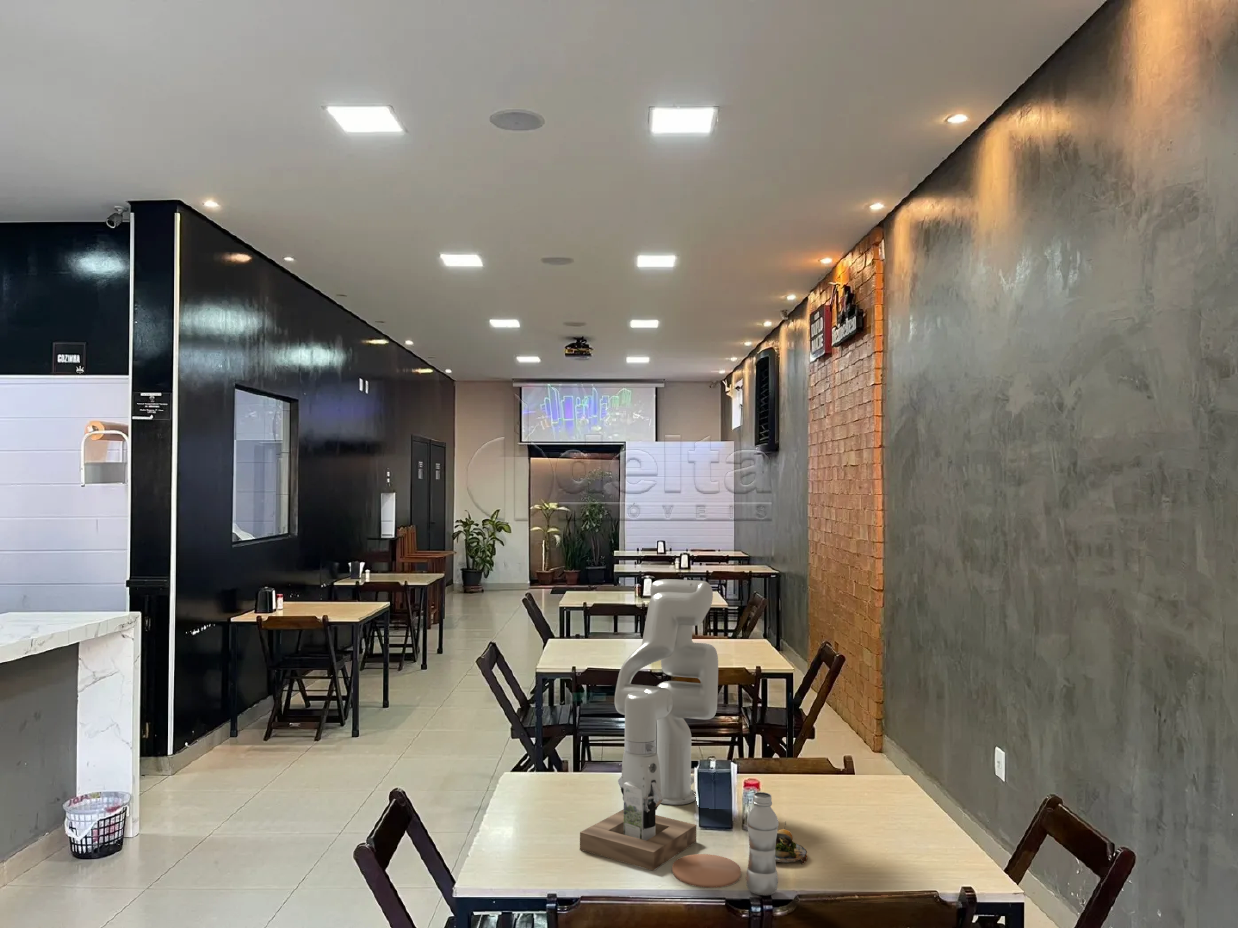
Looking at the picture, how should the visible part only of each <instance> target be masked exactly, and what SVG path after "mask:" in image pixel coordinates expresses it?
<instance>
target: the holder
mask: <svg viewBox="0 0 1238 928" xmlns="http://www.w3.org/2000/svg"><path fill="white" fill-rule="evenodd" d="M655 832H656V835H655V836H653V837H652V838H650V839H648V840H647V841H646V840H642V839H638V838H634V837H631V836H627V835H624V808H622V810H620V811H618V812H616V813H614V814H612V815H610V816H608V817H607V818H604V819H603V820H600V821H599V822H597V823H595V824H593V825H590V827H587V828H585V829H583V830H582V831H580V833H579V850H580V851H581V852H582V851H583V852H587V853H588V854H589V853H590V854H593V855H596V856H600V857H604V858H608V859H611V860H614V861H618V862H621V863H625V864H627V865H628V864H629V865H632V866H635V867H638V868H642V869H645V870H649V871H652V872H653V871H655V870H657V869H658V868H660V867H661V866H662V865H664V864H666V863H667V862H669V861H670V860H672V859H673V858H675V857H676V856H678V855H679V854H680V853H681V854H682V852H684V851H685V850H687V849H688V848H689V847H691V846H693V845H694V844H695V843H697V824H694V823H691V822H687V821H682V820H677V819H675V818H674V819H673V818H669V817H665V816H662V815H657V814H655Z"/></svg>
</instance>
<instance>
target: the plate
mask: <svg viewBox="0 0 1238 928" xmlns="http://www.w3.org/2000/svg"><path fill="white" fill-rule="evenodd" d="M671 872H672V875H673V877H674V878H675V879H677V880H678V881H679V882H681V883H684V884H685V885H689V886H692V887H698V888H703V889H705V888H707V889H709V888H710V889H714V888H715V889H716V888H718V889H719V888H723V887H724V888H725V887H729V886H731V885H734V884H736V883H737V882H738V881H740V879H741V877H742V869H741V866H740V865H739V864H738V863H737V862H736V861H734V860H732V859H731V858H727V857H724V856H723V855H722V856H721V855H716V854H708V853H698V854H697V853H695V854H688V855H684V856H681V857H679V858H678V859H676V860H675V861H674V862H673V863H672V867H671Z"/></svg>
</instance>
